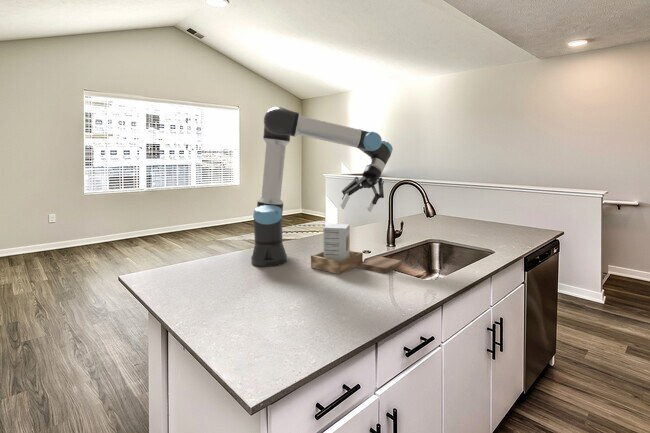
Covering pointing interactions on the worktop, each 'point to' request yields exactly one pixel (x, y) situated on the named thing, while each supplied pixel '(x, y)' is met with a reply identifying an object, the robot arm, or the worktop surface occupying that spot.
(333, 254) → the supplement box
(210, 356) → the worktop surface
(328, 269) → the wooden tray
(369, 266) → the walnut board
